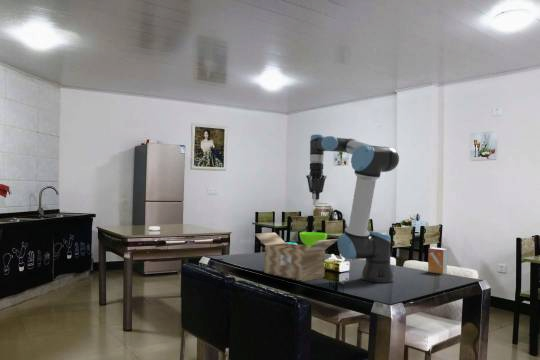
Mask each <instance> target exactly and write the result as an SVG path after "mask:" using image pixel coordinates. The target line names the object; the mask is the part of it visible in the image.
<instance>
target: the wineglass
mask: <svg viewBox="0 0 540 360" xmlns="http://www.w3.org/2000/svg"><path fill="white" fill-rule="evenodd" d="M299 238H300V240H301V242H302V243H303V244H304V246H312V245H313V244H314V243H316V242H317V241H320V240H327V238H328V233H327V232H326V233H325V232H315V231H311V232H309V231H304V232H303V231H302V232H299Z"/></svg>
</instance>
